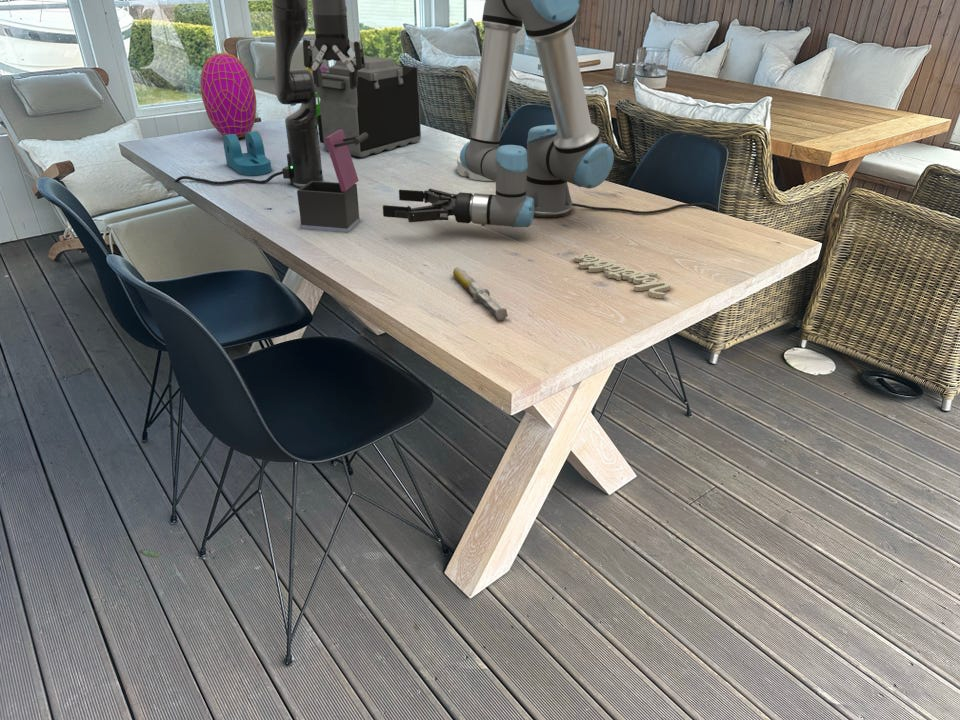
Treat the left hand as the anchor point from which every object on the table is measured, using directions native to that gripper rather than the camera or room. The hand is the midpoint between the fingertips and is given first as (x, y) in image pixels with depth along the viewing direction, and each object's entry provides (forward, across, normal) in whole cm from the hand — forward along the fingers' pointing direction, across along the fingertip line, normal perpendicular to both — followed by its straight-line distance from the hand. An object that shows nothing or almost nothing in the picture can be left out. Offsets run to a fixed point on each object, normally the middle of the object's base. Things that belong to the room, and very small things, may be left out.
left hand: (336, 87), depth 165 cm
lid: (+17, -1, 0) cm, 18 cm away
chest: (+35, -5, 0) cm, 35 cm away
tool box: (+35, -23, +86) cm, 95 cm away
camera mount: (+35, -51, +46) cm, 77 cm away
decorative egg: (+35, -78, +86) cm, 121 cm away
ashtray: (+35, +28, +61) cm, 75 cm away
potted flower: (+35, -57, +121) cm, 138 cm away
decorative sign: (+35, +72, -18) cm, 82 cm away
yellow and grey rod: (+35, +42, -36) cm, 65 cm away
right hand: (+27, +12, 0) cm, 30 cm away
